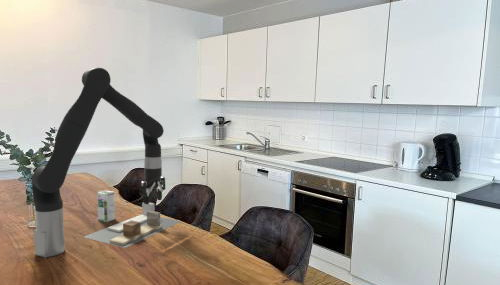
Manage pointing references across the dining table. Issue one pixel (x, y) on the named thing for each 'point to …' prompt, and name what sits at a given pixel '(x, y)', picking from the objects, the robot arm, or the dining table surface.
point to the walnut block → (131, 228)
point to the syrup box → (106, 206)
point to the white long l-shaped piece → (139, 218)
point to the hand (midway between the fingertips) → (153, 201)
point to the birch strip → (151, 226)
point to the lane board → (107, 234)
